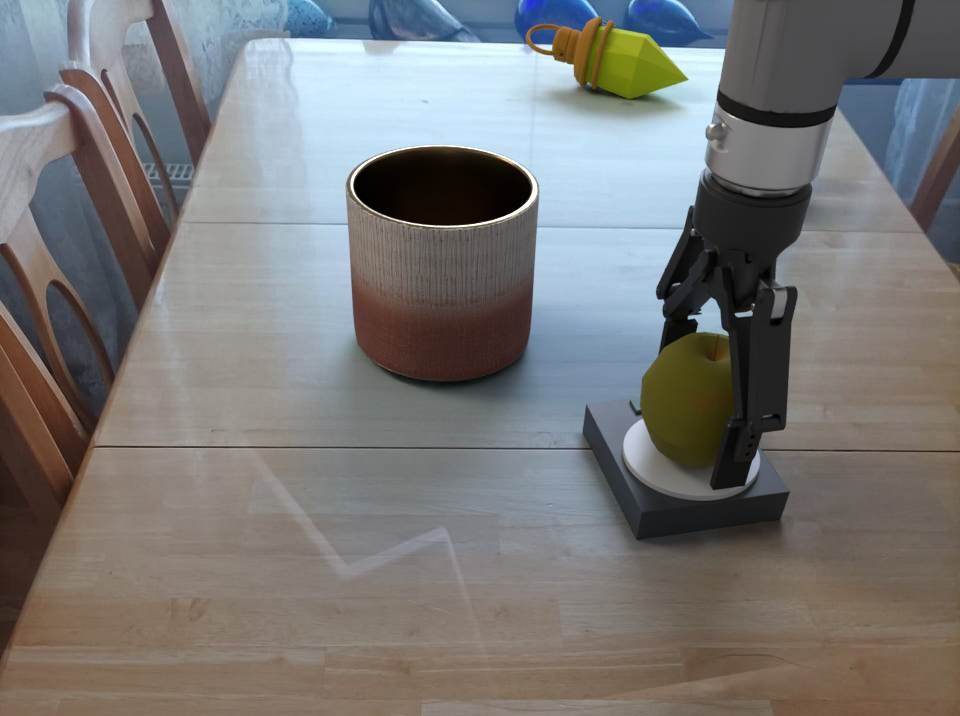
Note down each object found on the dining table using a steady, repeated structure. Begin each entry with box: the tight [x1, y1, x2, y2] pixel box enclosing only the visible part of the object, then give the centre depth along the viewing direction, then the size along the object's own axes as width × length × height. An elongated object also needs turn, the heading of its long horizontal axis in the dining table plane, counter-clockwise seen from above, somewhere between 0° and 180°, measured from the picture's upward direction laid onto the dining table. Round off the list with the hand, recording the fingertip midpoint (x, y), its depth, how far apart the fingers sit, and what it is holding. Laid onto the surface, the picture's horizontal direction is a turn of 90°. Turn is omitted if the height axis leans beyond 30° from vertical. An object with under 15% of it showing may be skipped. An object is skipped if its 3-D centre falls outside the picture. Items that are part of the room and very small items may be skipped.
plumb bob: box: [525, 15, 690, 100], centre depth 142 cm, size 9×9×25 cm
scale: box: [582, 397, 791, 540], centre depth 84 cm, size 13×15×4 cm
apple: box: [639, 331, 748, 468], centre depth 78 cm, size 10×10×11 cm
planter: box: [345, 144, 540, 383], centre depth 93 cm, size 18×18×16 cm
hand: (695, 435), depth 81 cm, fingers open, 13 cm apart
